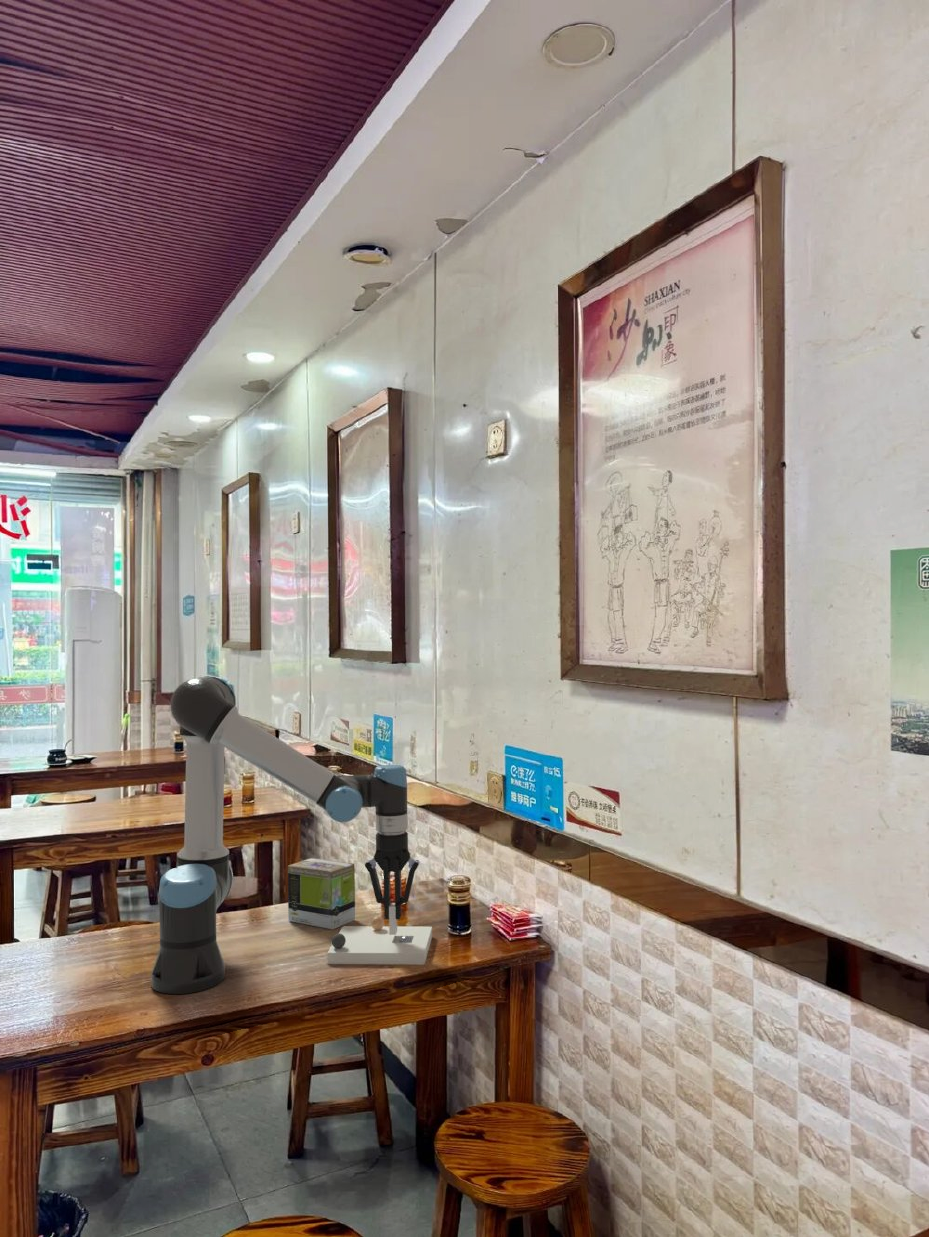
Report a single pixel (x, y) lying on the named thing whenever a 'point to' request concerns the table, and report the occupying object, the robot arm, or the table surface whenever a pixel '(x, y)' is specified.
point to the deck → (381, 946)
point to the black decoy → (338, 940)
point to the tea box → (321, 893)
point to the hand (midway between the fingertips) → (393, 932)
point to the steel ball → (405, 939)
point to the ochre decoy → (377, 923)
